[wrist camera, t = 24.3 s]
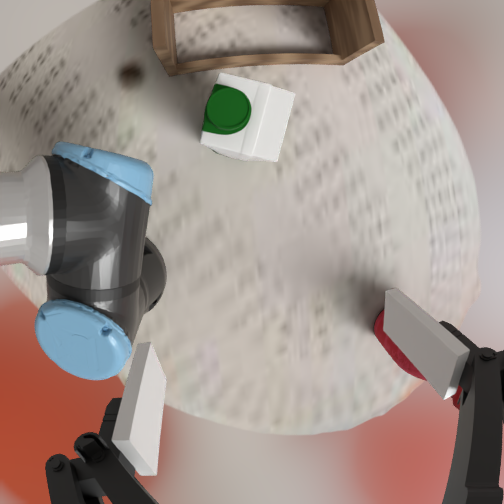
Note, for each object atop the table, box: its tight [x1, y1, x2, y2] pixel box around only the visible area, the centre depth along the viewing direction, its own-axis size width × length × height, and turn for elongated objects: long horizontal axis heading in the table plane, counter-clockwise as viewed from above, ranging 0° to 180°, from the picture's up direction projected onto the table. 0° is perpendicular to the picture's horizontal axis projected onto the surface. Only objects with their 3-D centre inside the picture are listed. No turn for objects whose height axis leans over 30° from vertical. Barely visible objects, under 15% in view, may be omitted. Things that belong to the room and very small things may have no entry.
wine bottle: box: [374, 309, 462, 410], centre depth 45 cm, size 10×10×30 cm
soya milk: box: [200, 73, 295, 162], centre depth 35 cm, size 9×9×20 cm
